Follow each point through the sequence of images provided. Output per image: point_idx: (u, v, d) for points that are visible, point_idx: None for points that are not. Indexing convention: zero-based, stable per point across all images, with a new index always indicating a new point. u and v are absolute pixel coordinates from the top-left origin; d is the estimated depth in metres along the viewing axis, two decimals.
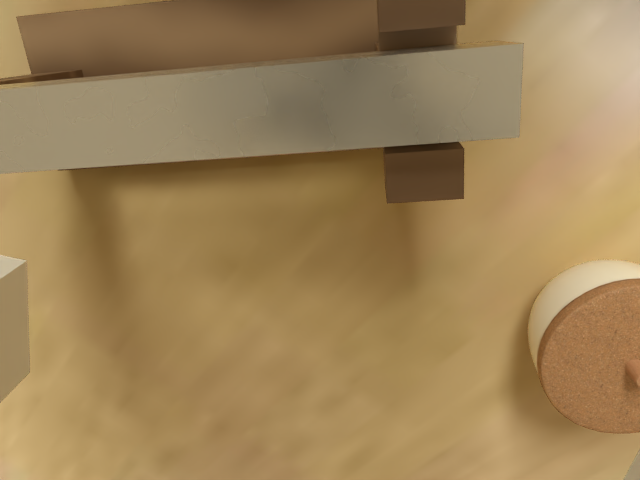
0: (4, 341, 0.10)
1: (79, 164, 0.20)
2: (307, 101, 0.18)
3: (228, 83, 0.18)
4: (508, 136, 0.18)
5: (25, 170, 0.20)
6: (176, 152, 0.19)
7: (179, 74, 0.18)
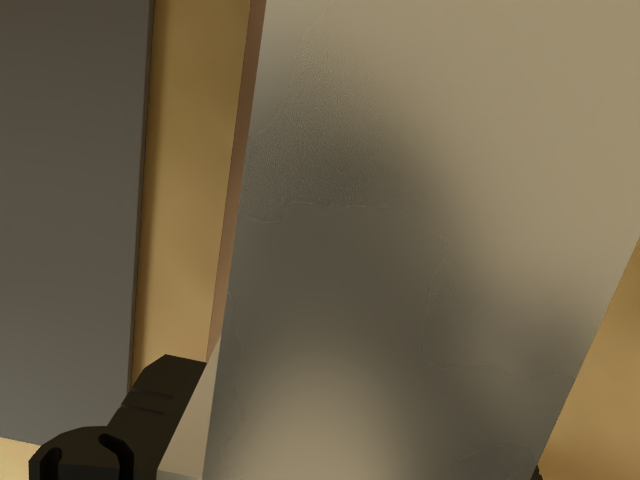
0: None
1: None
2: (453, 21, 0.04)
3: (274, 331, 0.05)
4: None
5: None
6: None
7: (208, 461, 0.05)
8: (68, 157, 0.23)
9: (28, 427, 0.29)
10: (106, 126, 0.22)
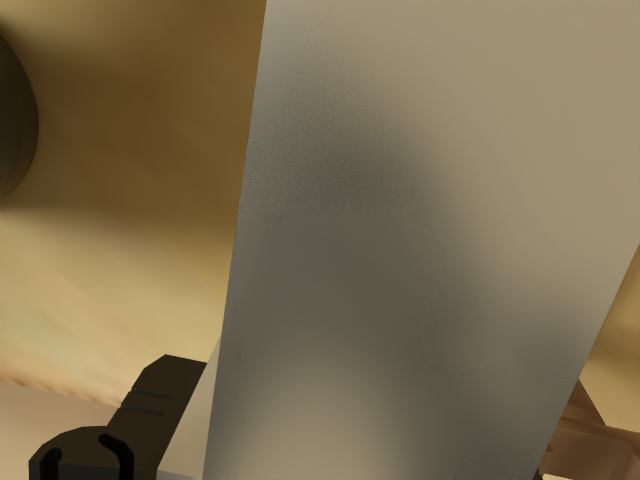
0: None
1: None
2: (454, 25, 0.04)
3: (275, 335, 0.05)
4: None
5: None
6: None
7: (208, 464, 0.05)
8: None
9: None
10: None
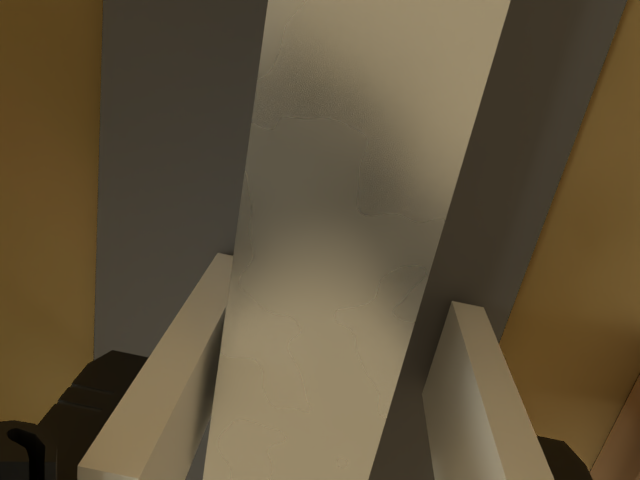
0: None
1: None
2: (364, 15, 0.07)
3: (272, 196, 0.08)
4: None
5: None
6: (386, 352, 0.09)
7: (231, 288, 0.09)
8: None
9: None
10: (449, 304, 0.13)
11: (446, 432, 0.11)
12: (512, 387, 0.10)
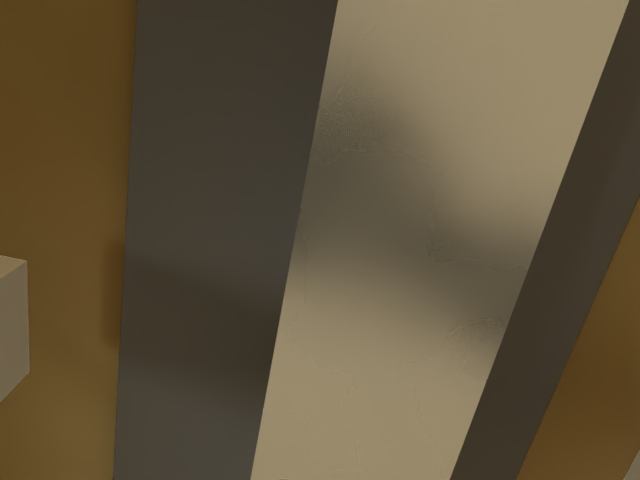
0: (4, 341, 0.10)
1: None
2: (447, 35, 0.06)
3: (330, 239, 0.07)
4: None
5: None
6: (452, 411, 0.08)
7: (278, 337, 0.08)
8: None
9: None
10: (503, 341, 0.12)
11: None
12: None
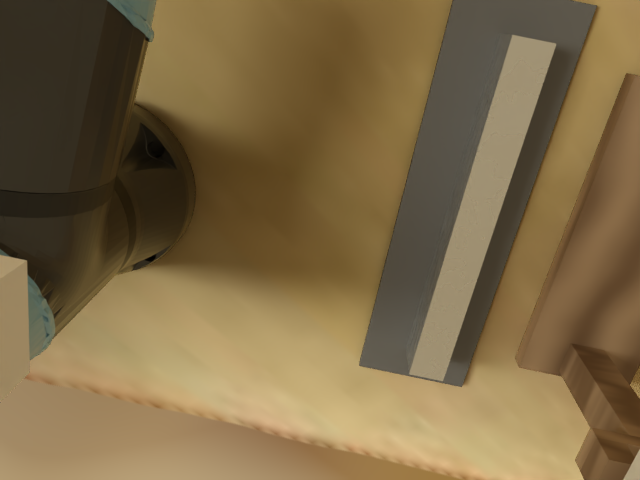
0: (4, 341, 0.10)
1: (483, 254, 0.42)
2: (498, 141, 0.39)
3: (476, 174, 0.40)
4: (553, 49, 0.36)
5: (476, 278, 0.43)
6: (496, 209, 0.40)
7: (463, 194, 0.40)
8: None
9: None
10: (506, 208, 0.45)
11: None
12: None
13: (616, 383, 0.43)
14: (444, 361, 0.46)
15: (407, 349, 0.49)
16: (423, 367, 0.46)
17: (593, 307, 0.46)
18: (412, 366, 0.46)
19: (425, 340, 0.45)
